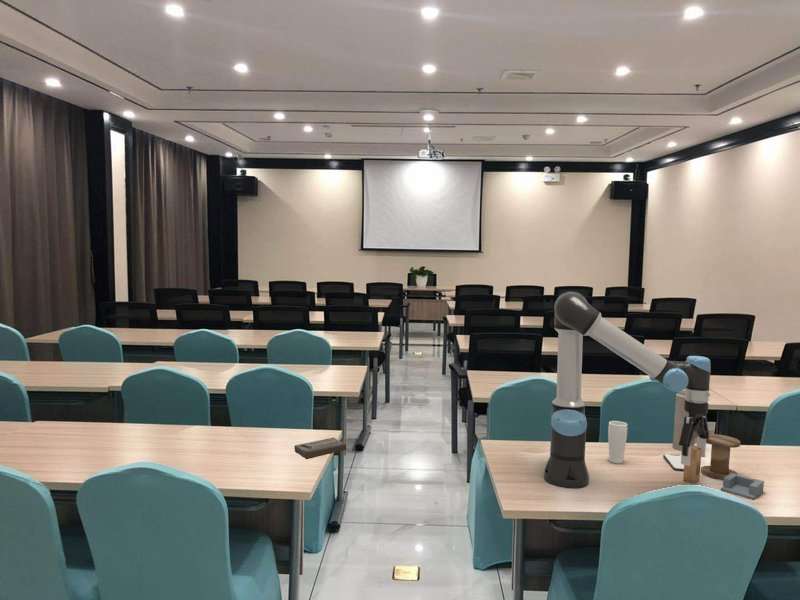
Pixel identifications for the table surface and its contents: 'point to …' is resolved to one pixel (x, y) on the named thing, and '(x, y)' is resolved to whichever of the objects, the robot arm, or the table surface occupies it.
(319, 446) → the box
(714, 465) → the bobbin
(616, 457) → the drinking glass
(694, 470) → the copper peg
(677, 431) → the thermos bottle
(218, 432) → the table surface
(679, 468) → the smartphone
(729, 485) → the grey slotted holder
